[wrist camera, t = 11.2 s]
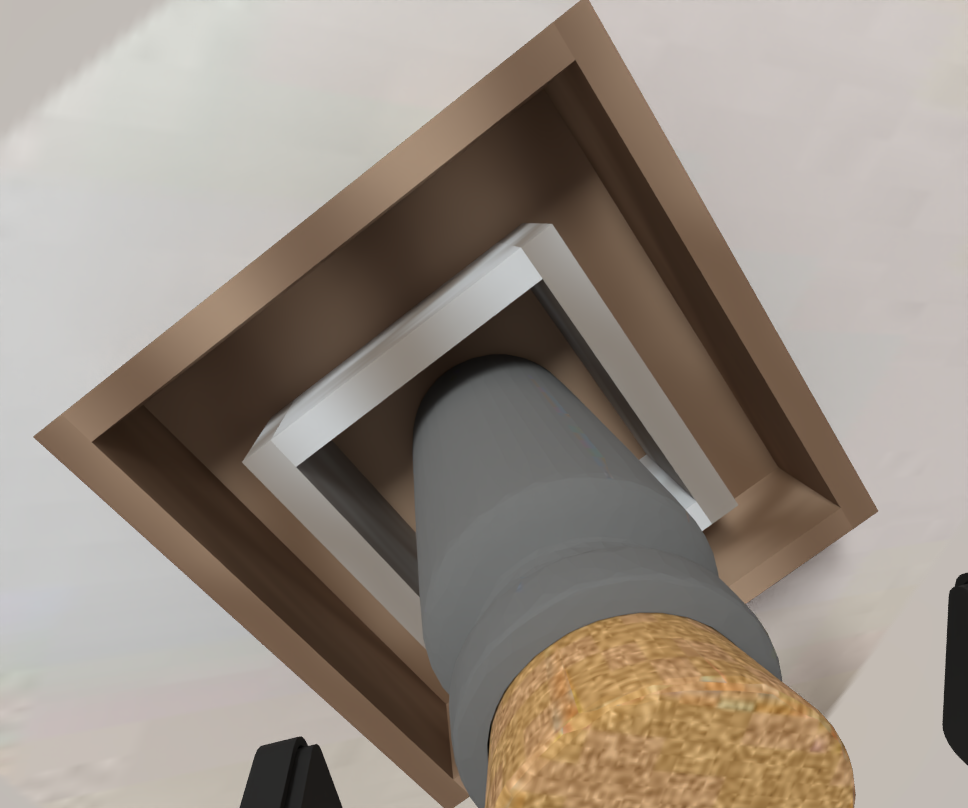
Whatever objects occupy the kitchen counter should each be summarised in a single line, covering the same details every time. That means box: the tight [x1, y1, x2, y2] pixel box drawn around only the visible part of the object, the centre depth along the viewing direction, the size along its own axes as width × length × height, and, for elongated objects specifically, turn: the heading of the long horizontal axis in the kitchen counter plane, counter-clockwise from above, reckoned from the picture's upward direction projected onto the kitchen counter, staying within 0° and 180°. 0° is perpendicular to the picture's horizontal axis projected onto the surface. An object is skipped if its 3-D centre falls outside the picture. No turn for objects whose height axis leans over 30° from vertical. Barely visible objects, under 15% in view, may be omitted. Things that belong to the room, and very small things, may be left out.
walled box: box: [34, 0, 878, 808], centre depth 20 cm, size 18×18×5 cm
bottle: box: [412, 354, 856, 808], centre depth 14 cm, size 6×6×15 cm
